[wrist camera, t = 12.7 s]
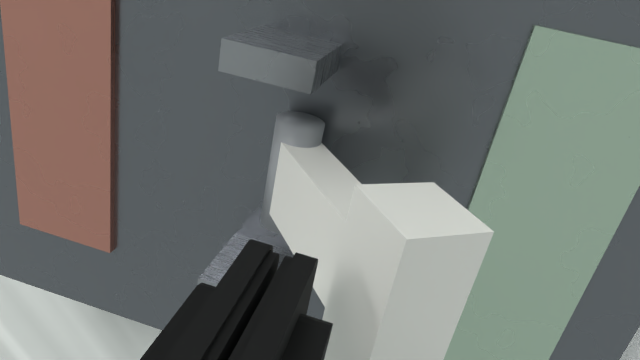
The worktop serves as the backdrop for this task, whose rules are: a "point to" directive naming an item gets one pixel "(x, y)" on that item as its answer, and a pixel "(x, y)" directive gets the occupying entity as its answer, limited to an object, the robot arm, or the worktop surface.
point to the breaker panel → (328, 147)
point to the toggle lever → (372, 248)
